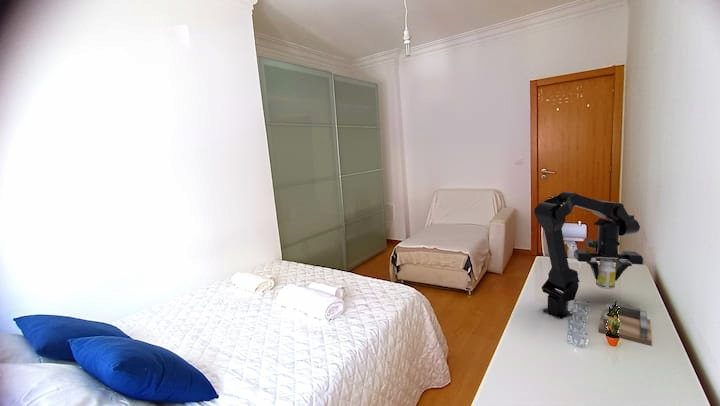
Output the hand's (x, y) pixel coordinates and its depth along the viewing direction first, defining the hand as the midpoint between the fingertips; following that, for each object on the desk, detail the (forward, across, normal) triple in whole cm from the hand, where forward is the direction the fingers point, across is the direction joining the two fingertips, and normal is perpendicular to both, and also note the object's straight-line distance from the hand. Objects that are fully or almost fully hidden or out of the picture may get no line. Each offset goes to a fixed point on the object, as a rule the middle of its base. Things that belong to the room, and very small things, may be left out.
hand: (605, 279), depth 114 cm
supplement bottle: (+3, 0, 0) cm, 3 cm away
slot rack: (+9, 0, +17) cm, 19 cm away
